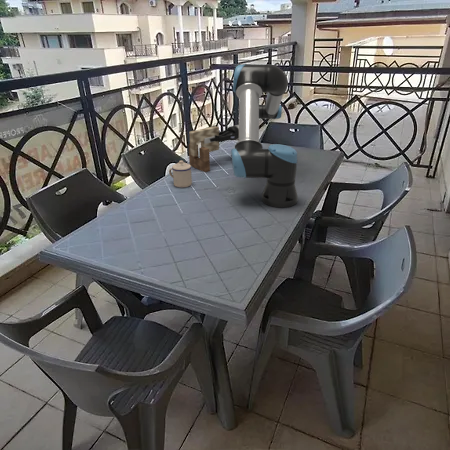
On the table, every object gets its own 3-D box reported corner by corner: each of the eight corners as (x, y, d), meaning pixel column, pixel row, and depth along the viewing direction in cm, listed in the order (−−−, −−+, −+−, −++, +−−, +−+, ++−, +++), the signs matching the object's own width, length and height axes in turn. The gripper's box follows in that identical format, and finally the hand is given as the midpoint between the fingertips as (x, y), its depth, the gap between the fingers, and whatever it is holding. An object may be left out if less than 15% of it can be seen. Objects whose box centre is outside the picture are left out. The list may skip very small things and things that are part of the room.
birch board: (215, 148, 191) (215, 126, 185) (219, 149, 189) (218, 127, 183) (190, 154, 181) (189, 131, 175) (194, 156, 179) (192, 132, 173)
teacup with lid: (196, 182, 168) (194, 159, 162) (185, 189, 161) (183, 165, 155) (175, 178, 173) (173, 156, 167) (164, 184, 166) (162, 161, 160)
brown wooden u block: (209, 171, 182) (209, 148, 176) (205, 172, 180) (204, 149, 175) (194, 164, 191) (192, 143, 186) (189, 165, 190) (188, 144, 184)
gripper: (245, 142, 191) (212, 150, 177) (226, 136, 201) (193, 144, 188) (245, 128, 187) (211, 136, 174) (226, 123, 198) (192, 130, 184)
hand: (202, 140), depth 181 cm, fingers closed on birch board, 3 cm apart
